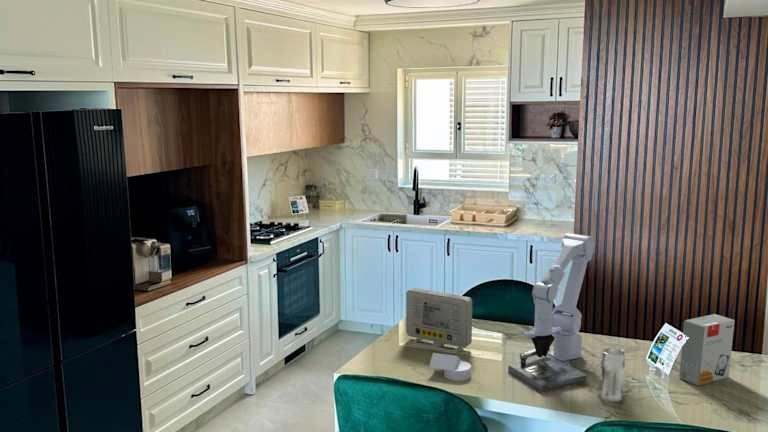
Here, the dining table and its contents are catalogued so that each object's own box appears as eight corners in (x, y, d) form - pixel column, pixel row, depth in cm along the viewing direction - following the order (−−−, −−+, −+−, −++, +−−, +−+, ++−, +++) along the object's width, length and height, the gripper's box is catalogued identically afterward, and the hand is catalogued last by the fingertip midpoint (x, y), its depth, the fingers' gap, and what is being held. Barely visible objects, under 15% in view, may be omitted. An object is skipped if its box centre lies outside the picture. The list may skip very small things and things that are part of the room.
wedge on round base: (429, 376, 222) (467, 382, 218) (429, 357, 221) (467, 362, 217) (436, 366, 231) (473, 371, 226) (436, 348, 230) (473, 352, 225)
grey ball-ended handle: (523, 360, 224) (524, 355, 224) (518, 358, 226) (518, 353, 225) (549, 350, 232) (549, 345, 232) (544, 348, 234) (544, 343, 234)
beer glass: (595, 393, 209) (598, 347, 206) (617, 392, 210) (620, 346, 207) (605, 403, 202) (607, 356, 200) (627, 402, 203) (630, 355, 200)
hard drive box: (698, 386, 213) (703, 327, 210) (678, 378, 220) (682, 320, 216) (730, 377, 220) (735, 319, 217) (709, 369, 227) (714, 312, 223)
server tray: (550, 362, 233) (551, 351, 232) (586, 382, 217) (587, 370, 216) (508, 372, 226) (508, 360, 225) (542, 392, 210) (542, 380, 209)
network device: (474, 348, 247) (475, 296, 244) (463, 355, 240) (464, 302, 236) (414, 335, 261) (414, 285, 257) (402, 342, 254) (402, 291, 250)
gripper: (552, 311, 232) (551, 349, 234) (518, 317, 226) (517, 355, 228) (566, 317, 226) (564, 355, 228) (531, 323, 220) (529, 362, 222)
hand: (541, 356), depth 228 cm, fingers closed
